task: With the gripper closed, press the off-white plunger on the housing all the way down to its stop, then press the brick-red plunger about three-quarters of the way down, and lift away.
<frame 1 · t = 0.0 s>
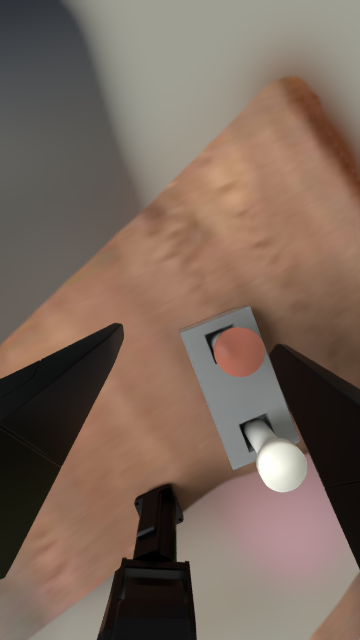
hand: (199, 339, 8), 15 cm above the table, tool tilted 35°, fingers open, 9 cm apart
white plunger: (267, 445, 17), point 7 cm above the table, slide at 0.0 cm
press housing: (227, 373, 23), on the table
red plunger: (230, 347, 16), point 7 cm above the table, slide at 0.0 cm
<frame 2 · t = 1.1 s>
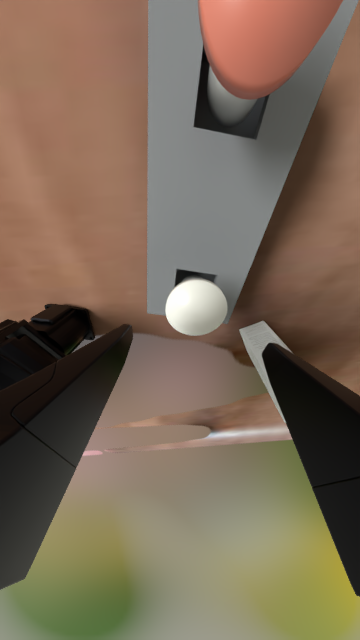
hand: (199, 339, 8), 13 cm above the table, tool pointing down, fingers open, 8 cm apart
white plunger: (194, 299, 13), point 7 cm above the table, slide at 0.0 cm
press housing: (202, 221, 15), on the table
red plunger: (250, 33, 6), point 7 cm above the table, slide at 0.0 cm
skincare box: (254, 335, 24), on the table
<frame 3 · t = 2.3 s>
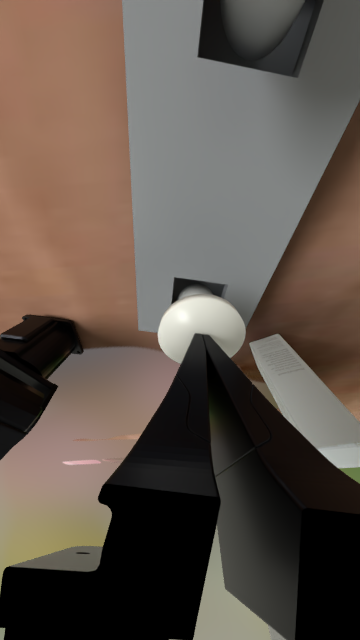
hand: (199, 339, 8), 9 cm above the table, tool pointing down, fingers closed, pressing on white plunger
white plunger: (197, 316, 10), point 7 cm above the table, slide at 0.1 cm, touching gripper
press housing: (206, 214, 12), on the table
skincare box: (266, 349, 21), on the table
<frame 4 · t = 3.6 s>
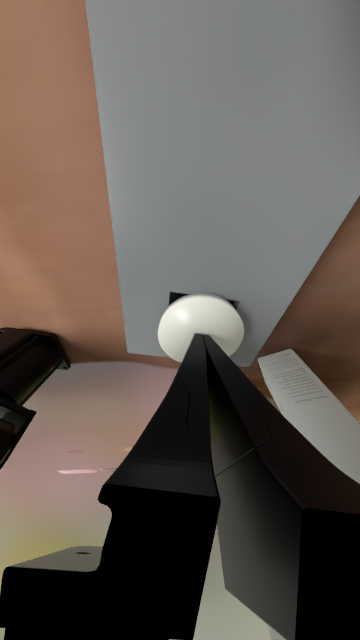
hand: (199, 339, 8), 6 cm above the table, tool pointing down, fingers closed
white plunger: (197, 315, 10), point 4 cm above the table, slide at 3.1 cm
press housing: (211, 211, 10), on the table
skincare box: (276, 364, 19), on the table
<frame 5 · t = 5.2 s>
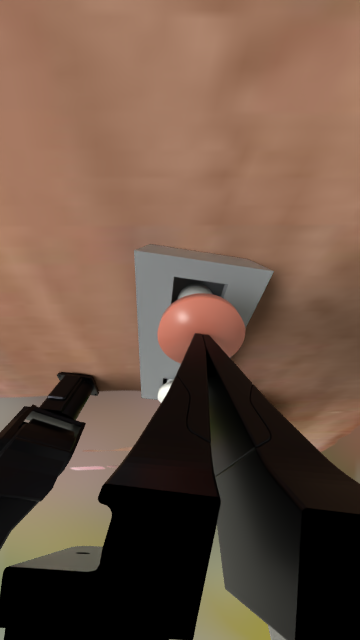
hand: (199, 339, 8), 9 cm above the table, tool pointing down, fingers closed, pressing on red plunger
white plunger: (177, 380, 20), point 4 cm above the table, slide at 3.1 cm
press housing: (184, 329, 19), on the table
red plunger: (197, 316, 10), point 7 cm above the table, slide at 0.1 cm, touching gripper
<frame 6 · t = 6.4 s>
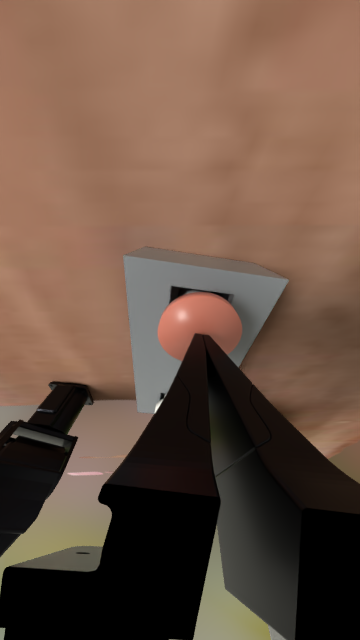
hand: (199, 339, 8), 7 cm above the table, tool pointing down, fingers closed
white plunger: (176, 394, 18), point 4 cm above the table, slide at 3.1 cm
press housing: (184, 338, 18), on the table
red plunger: (196, 314, 10), point 5 cm above the table, slide at 2.3 cm
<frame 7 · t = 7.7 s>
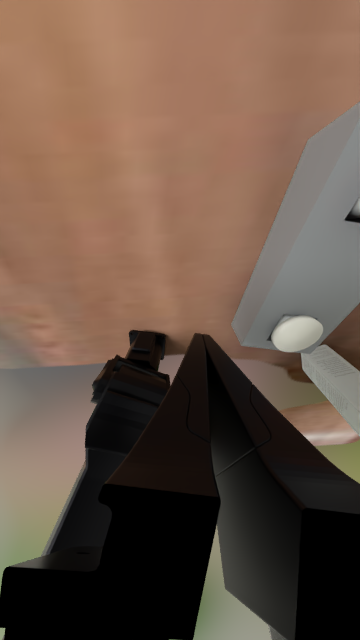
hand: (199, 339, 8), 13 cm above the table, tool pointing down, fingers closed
white plunger: (284, 324, 18), point 4 cm above the table, slide at 3.1 cm
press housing: (294, 267, 18), on the table
skincare box: (312, 356, 27), on the table
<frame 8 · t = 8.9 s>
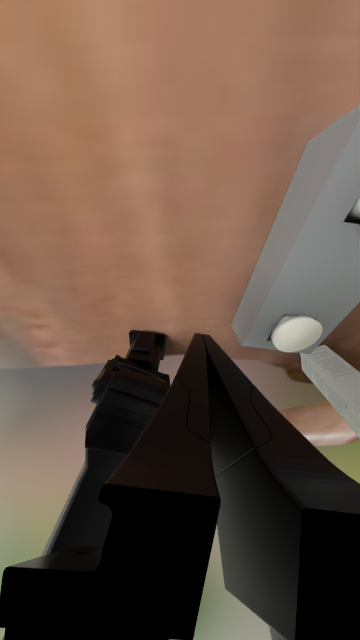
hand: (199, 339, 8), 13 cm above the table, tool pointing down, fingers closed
white plunger: (284, 324, 18), point 4 cm above the table, slide at 3.1 cm
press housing: (294, 267, 18), on the table
skincare box: (311, 356, 27), on the table
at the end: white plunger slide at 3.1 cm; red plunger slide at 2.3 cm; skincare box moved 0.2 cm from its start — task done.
